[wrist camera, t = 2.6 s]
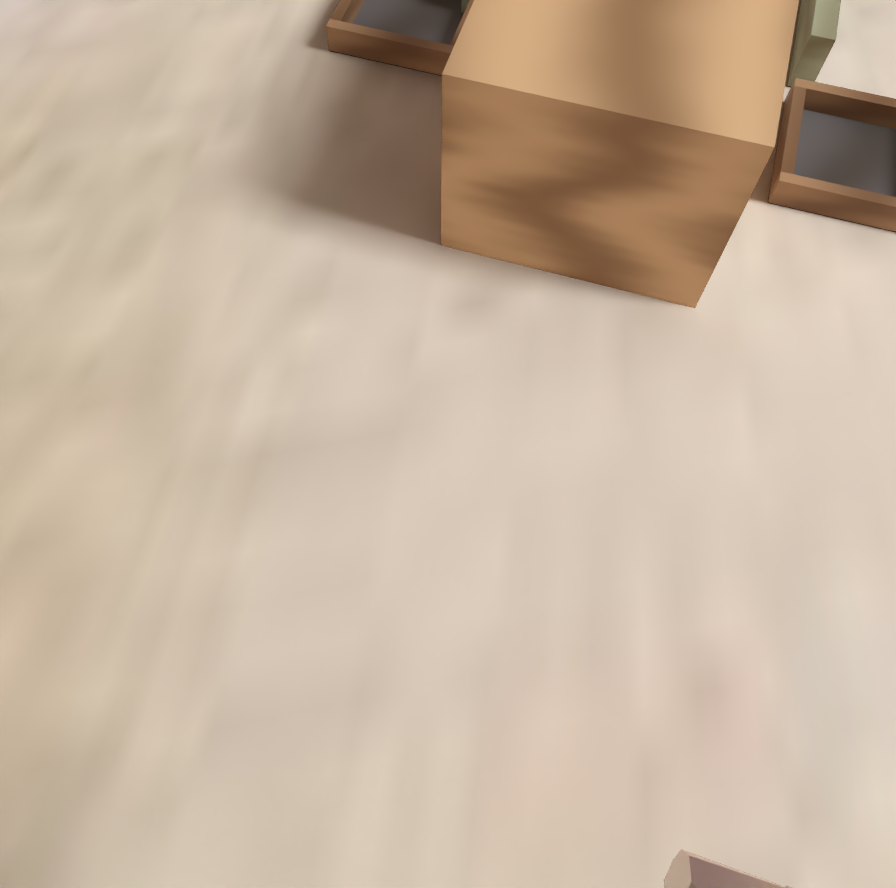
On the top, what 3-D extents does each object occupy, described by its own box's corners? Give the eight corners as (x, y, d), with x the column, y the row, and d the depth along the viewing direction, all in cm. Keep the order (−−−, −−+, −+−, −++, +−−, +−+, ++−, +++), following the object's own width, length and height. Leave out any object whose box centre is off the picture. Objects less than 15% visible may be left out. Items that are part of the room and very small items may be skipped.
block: (440, 247, 31) (442, 73, 24) (506, 76, 35) (523, -115, 28) (694, 309, 30) (775, 147, 23) (730, 126, 34) (808, -61, 27)
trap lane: (304, 95, 35) (295, 44, 32) (426, -131, 42) (425, -186, 40) (920, 237, 32) (956, 192, 29) (934, -34, 39) (965, -87, 37)
